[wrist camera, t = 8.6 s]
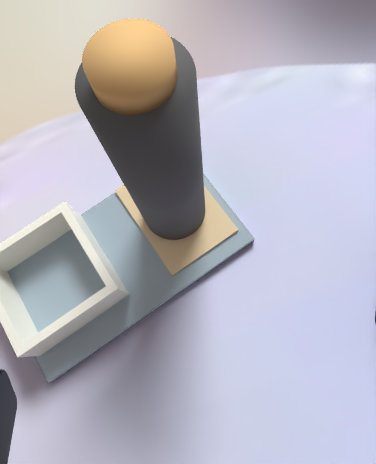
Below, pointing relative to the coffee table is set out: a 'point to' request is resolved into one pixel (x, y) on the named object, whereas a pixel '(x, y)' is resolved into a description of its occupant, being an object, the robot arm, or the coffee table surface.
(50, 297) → the board
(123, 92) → the grey and orange cylinder
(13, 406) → the robot arm
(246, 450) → the coffee table surface
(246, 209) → the coffee table surface
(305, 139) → the coffee table surface
